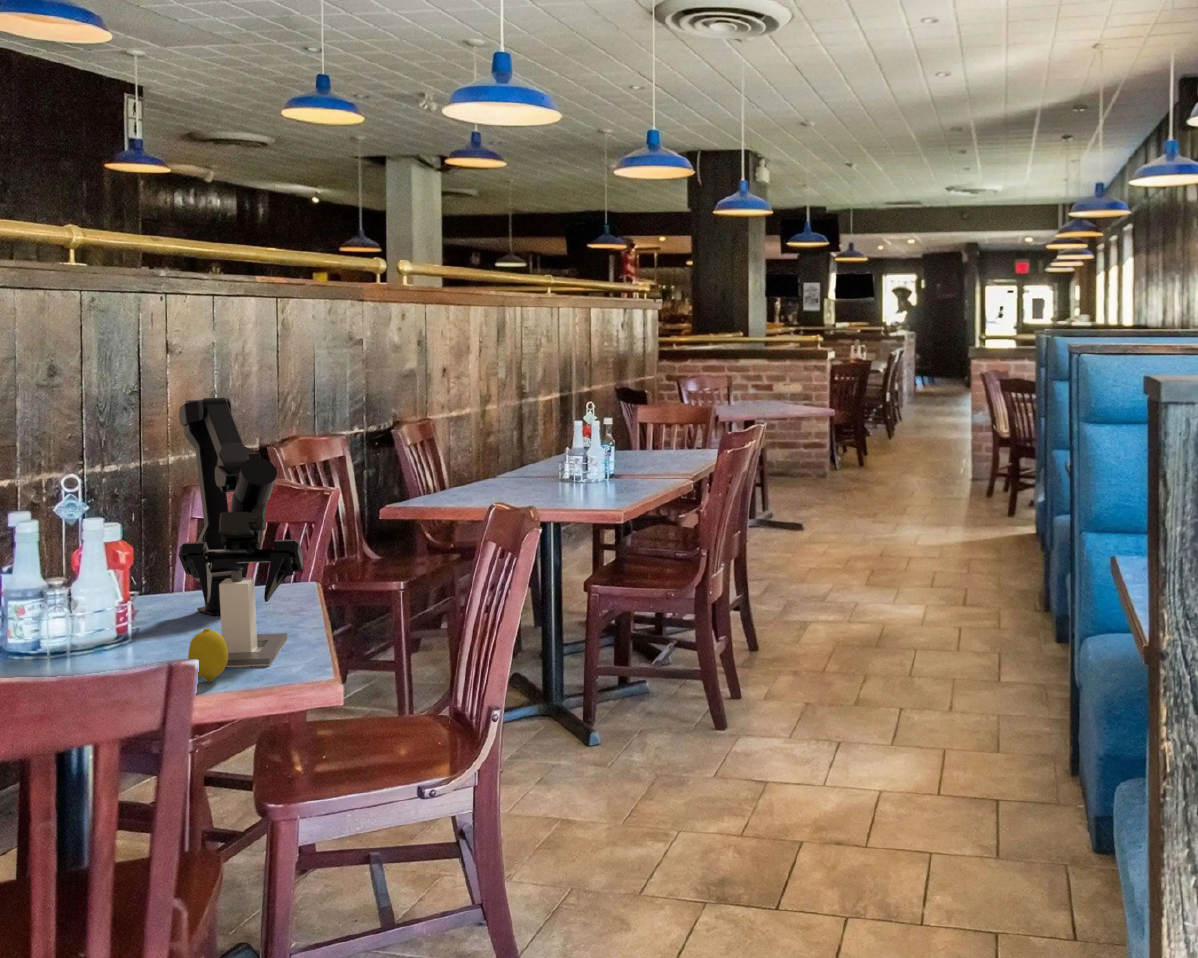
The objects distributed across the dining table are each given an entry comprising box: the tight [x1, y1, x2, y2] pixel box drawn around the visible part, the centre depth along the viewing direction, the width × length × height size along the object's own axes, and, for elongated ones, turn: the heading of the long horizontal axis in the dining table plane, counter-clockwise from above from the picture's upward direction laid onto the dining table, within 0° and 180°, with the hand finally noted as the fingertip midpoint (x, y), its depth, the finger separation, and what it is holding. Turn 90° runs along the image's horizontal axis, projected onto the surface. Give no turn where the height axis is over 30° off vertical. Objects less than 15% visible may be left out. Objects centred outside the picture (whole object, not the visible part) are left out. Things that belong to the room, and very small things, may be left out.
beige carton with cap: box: [219, 571, 258, 653], centre depth 196 cm, size 5×4×13 cm
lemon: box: [187, 627, 228, 682], centre depth 181 cm, size 6×6×8 cm
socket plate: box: [220, 632, 288, 668], centre depth 197 cm, size 16×12×1 cm
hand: (236, 601), depth 194 cm, fingers open, 9 cm apart
